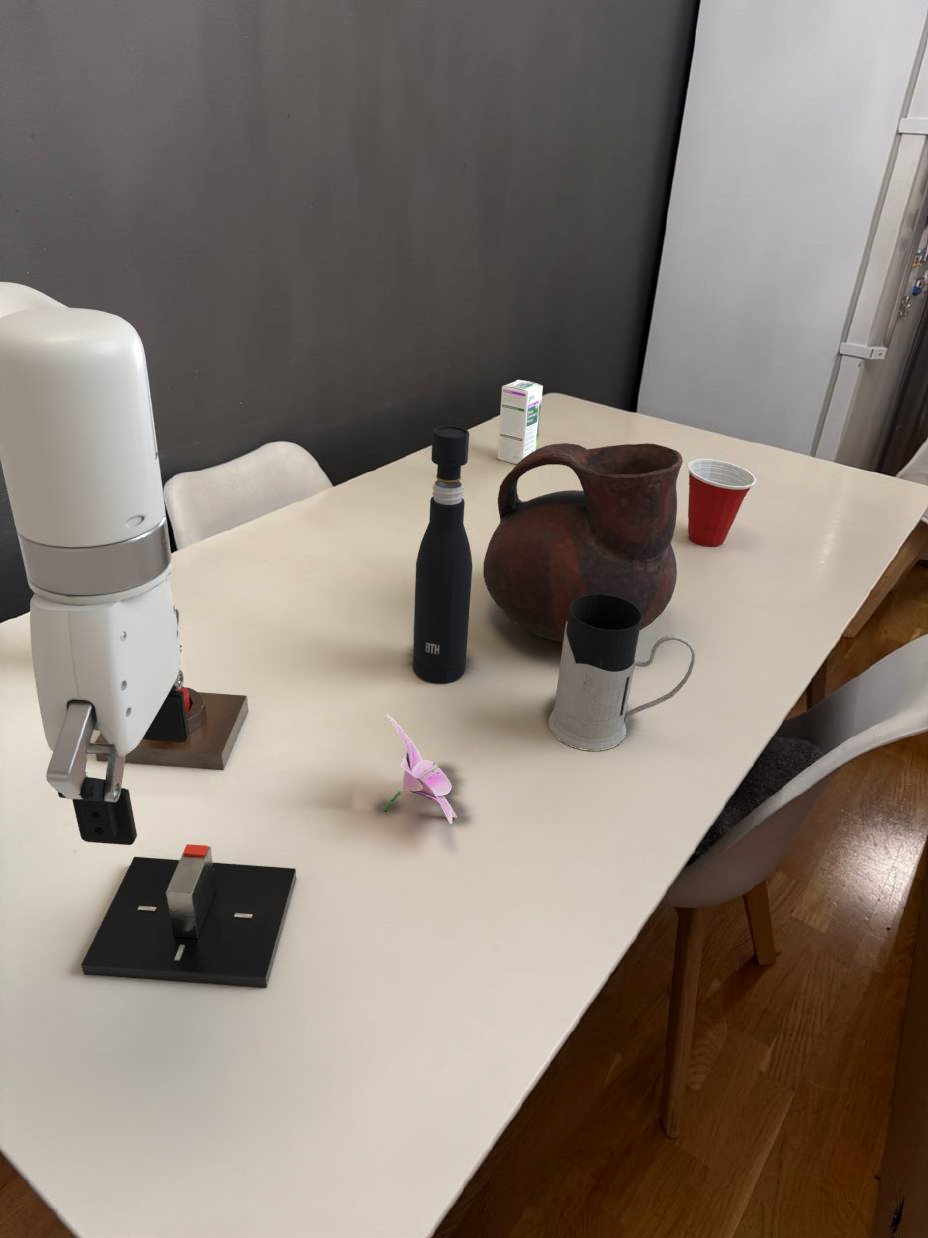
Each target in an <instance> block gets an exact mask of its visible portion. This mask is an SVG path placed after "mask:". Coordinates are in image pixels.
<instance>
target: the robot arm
mask: <svg viewBox="0 0 928 1238" xmlns="http://www.w3.org/2000/svg"><path fill="white" fill-rule="evenodd" d="M148 373H149V372H148V366H147V359H146V352H145V349H144V345H143V342H142V339H141V337H140V335H139V333H138V332H137V329H135V327H134V326H133V325H132V324H131V323H130V322H128V321H127V320H125V319H124V318H123V317H121V316H119V315H116V314H113V313H109V312H106V311H102V310H98V309H91V308H80V307H79V308H78V307H68V306H67V305H65V304H63V303H62V302H59V301H58V300H56V299H54V298H52V297H50V296H48V295H47V294H45V293H44V292H41V291H39V290H37V289H35V288H33V287H30V286H27V285H25V284H20V283H15V282H9V281H0V464H1V469H2V473H3V477H4V482H5V486H6V491H7V494H8V499H9V505H10V509H11V512H12V517H13V521H14V526H15V529H16V534H17V538H18V542H19V547H20V551H21V556H22V560H23V561H22V562H23V565H24V569H25V573H26V579H27V583H28V587H29V588H30V589H31V591H32V592H33V593H34V594H33V595H32V596H31V599H30V602H29V607H30V608H29V610H30V611H29V629H30V630H29V631H30V647H31V658H32V659H31V660H32V665H33V673H34V679H35V680H34V682H35V688H36V694H37V701H38V707H39V712H40V718H41V723H42V727H43V731H44V737H45V740H46V743H47V747H48V748H49V749H50V751H51V752H52V754H51V758H50V761H49V764H48V766H47V770H46V774H45V775H46V777H45V779H46V781H47V783H48V784H49V785H50V786H51V788H53V789H54V790H55V791H56V792H57V796H58V797H59V798H61V799H67V800H72V805H73V809H74V813H75V819H76V822H77V827H78V832H79V835H80V838H81V839H82V840H83V841H84V842H86V843H97V844H108V845H120V846H132V845H133V844H134V843H135V841H136V839H137V837H138V833H137V827H136V823H135V822H136V821H135V816H134V810H133V806H132V799H131V794H130V789H129V788H125V787H122V785H123V778H124V771H125V764H126V763H125V757H126V754H128V753H130V752H131V751H132V750H133V749H135V748H136V747H137V745H138V744H139V743H140V741H141V740H142V738H143V739H145V740H155V741H168V742H184V741H186V739H187V737H188V735H189V731H188V723H187V716H186V708H185V701H184V693H183V691H176V689H181V687H182V686H183V684H184V677H185V676H184V673H183V671H182V670H181V664H182V650H183V649H181V648H182V647H183V646H182V644H181V641H180V632H179V625H180V624H179V623H180V612H179V609H177V608H175V601H174V597H173V592H172V587H171V583H170V578H169V576H170V575H171V573H172V571H173V560H172V559H173V558H172V551H171V544H170V543H171V541H170V536H169V527H168V520H167V512H166V505H165V498H164V497H165V496H164V488H163V481H162V475H161V466H160V458H159V451H158V443H157V437H156V436H157V435H156V429H155V427H156V426H155V420H154V412H153V403H152V398H151V389H150V379H149V374H148ZM94 732H100V733H102V735H103V736H104V738H105V739H106V740H107V742H108V743H109V744H97V743H95V742H91V741H92V738H93V735H94ZM110 744H113V745H110ZM96 754H98V755H109V757H108V762H107V765H106V771H105V772H106V773H105V779H103V778H98V777H90V776H88V775H87V774H88V772H87V763H88V756H89V755H96Z"/></svg>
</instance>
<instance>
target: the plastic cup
mask: <svg viewBox="0 0 928 1238" xmlns="http://www.w3.org/2000/svg"><path fill="white" fill-rule="evenodd" d="M687 471H688V505H687V507H688V508H687V519H688V521H687V523H688V524H687V535H688V539H689V540H690V541H691V542H693V543H695V544H697V545H699V546H704V547H720V546H722V545H723V544H724V542H725V540H726V539H727V537H728V535H729V532H730V530H731V527H732V526H733V524H734V522H735V519H736V517H737V516H738V514H739V510H740V508H741V507H742V504H743V502H744V500H745V497H746V496H747V494H748V492H749V491H750V490H751V489H752V488H753V487H754V486H755V485H756V484H757V478H756V476H755V475H754V474H753V473H752V472H751V471H749V469H746V468H744V467H742V466H739V465H737V464H734V463H732V462H729V461H725V460H718V459H712V458H698V459H693V460H690V462H689V463H687Z"/></svg>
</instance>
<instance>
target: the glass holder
mask: <svg viewBox="0 0 928 1238" xmlns="http://www.w3.org/2000/svg"><path fill="white" fill-rule="evenodd" d="M641 620H642V614H641V612H640V610H639V609H638V608H637V607H636V606H635V605H634V604H632V603H631V602H629V601H627V600H625V599H622V598H619V597H616V596H611V595H604V594H591V595H585V596H582V597H579V598H577V599H575V600H574V601H573V602H572V603H571V605H570V610H569V617H568V621H567V622H566V627H565V634H564V641H563V643H562V649H561V657H560V662H559V669H558V670H559V672H558V679H557V685H556V693H555V700H554V706H553V707H554V709H553V710H552V712H551V713H550V715H549V716H548V722H549V724H548V728H549V731H550V733H551V734H552V735H553V736H554V737H555V738H556V737H557V738H559V739H560V740H561V741H562V742H564V743H566V744H568V745H571V746H573V747H576V748H582V749H587V750H602V749H603V750H604V749H606V748H607V749H608V748H609V747H610V748H611V747H613V746H614V745H616V744H618V743H620V742H621V741H622V740H623V739H624V737H625V738H626V736H627V726H626V724H627V723H628V719H629V718H630V717H631V716H633V715H635V714H637V713H639V712H642V711H644V710H647V709H650V708H652V707H655V706H656V705H659V704H661V703H663V702H666V701H667V700H669V699H671V698H673V697H674V696H675V695H676V694H677V693H679V691H680V690H681V689H682V688H683V687H684V686H685V684H687V682H688V680H689V678H690V677H691V675H692V672H693V669H694V665H695V663H696V662H695V661H696V649H695V647H694V645H693V643H692V642H691V641H689V639H688V638H685V637H684V636H681V635H679V634H678V635H677V634H667V635H665V636H662V637H661V638H659V639H658V640H657V641H656V642H655V643H654V645H653V647H652V649H651V652H650V656H649V659H648V660H646V661H640V660H637V657H636V652H637V647H638V641H639V636H640V631H641V630H640V626H641ZM668 641H678V642H680V643H682V644H685V645H686V646H687V648H689V650H690V653H691V659H690V660H691V661H690V663H689V667H688V669H687V672H686V673H685V675H684V676H683V678H682V679H681V681H679V683H678V684H677V685H676V686H675V687H674V688H673V689H672V690H671V691H669V692H668V693H665V694H664V695H662V696H660V697H658V698H656V699H654V700H651V701H649V702H646V703H644V704H641V705H638V706H636V707H634V708H632V709H630V710H629V711H627V709H628V704H629V699H630V693H631V689H632V682H633V676H634V673H635V668H636V667H639V668H646V667H649V666H650V665H651V664H652V663H653V661H654V658H655V656H656V655H655V654H656V652H657V650H658V648H659V647H660V645H662V644H663V643H665V642H668ZM625 735H626V736H625ZM557 738H556V739H557ZM560 740H559V741H560ZM624 740H625V739H624ZM624 740H623V741H624ZM561 741H560V742H561ZM623 741H622V742H623ZM562 742H561V743H562ZM564 743H563V744H564ZM566 744H565V745H566ZM620 744H621V743H620ZM568 745H567V746H568ZM573 747H572V748H573ZM576 748H575V749H576ZM604 751H605V750H604Z"/></svg>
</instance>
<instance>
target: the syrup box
mask: <svg viewBox="0 0 928 1238" xmlns="http://www.w3.org/2000/svg"><path fill="white" fill-rule="evenodd" d="M543 388H544V386H543V384H540V383H536V382H534V381H529V380H521V379H517V380H515V381H513V382H510V383H506V384H505V385H502V386H501V394H500V395H501V396H500V397H501V398H500V412H499V413H500V414H499V426H498V427H499V428H498V429H499V430H498V441H497V442H498V443H497V459H498V460H500V461H503V462H506V463H510V464H513V465H517V464H518V463H519V462H520V461H521V460H522V459H523V458H524V457H526V456H527V455H529V454H530V453H532V452H533V451H535V450H537V449H539V447H538V446H539V434H540V423H541V412H542V411H541V410H542V402H543V401H542V400H543Z"/></svg>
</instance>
